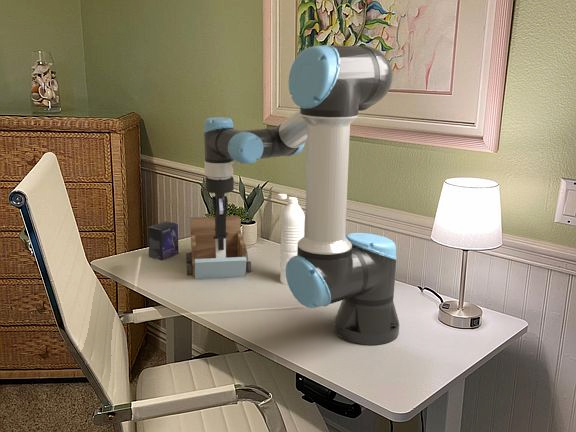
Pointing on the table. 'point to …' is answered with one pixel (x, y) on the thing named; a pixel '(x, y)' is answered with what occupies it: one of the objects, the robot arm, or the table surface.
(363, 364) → the table surface
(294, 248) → the water bottle
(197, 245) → the box
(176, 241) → the box
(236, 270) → the panel
